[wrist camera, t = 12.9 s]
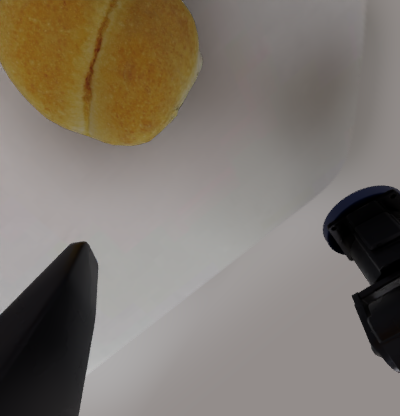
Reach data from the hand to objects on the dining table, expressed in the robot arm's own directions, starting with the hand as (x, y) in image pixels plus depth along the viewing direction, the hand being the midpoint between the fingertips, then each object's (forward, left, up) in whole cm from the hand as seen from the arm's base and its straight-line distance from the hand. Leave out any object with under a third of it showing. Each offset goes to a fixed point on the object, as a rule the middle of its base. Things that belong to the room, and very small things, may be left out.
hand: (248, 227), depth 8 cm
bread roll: (+5, +2, -12) cm, 13 cm away
